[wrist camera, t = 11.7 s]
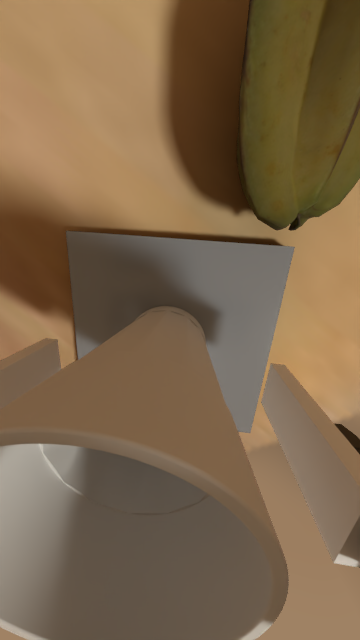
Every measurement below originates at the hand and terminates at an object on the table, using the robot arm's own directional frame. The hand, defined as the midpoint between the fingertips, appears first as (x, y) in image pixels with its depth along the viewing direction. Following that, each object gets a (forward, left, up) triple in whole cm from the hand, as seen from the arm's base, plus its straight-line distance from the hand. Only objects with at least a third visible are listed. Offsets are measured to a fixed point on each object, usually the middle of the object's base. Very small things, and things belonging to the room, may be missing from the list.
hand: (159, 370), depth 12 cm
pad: (0, 0, -5) cm, 5 cm away
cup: (0, 0, -4) cm, 4 cm away
